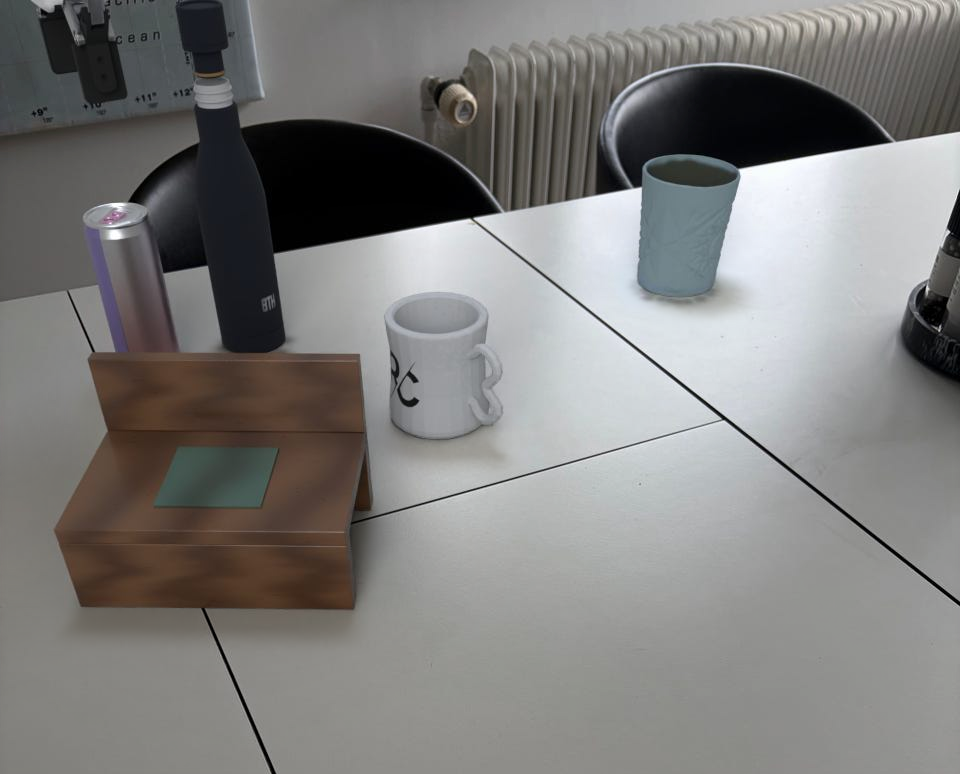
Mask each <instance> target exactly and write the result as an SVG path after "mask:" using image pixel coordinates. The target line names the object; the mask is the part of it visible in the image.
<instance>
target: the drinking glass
mask: <svg viewBox="0 0 960 774" xmlns="http://www.w3.org/2000/svg"><path fill="white" fill-rule="evenodd" d="M641 171H642V172H641V173H642V176H641V177H642V178H641V200H640V201H641V202H640V206H641V209H640V221H639V225H640V230H639V237H640V238H639V240H638V245H639V246H638V259H639V260H638V263H637V273H636V277H637V282H638V284H639V285H640V287H641V288H643V289H645V290H646V291H648V292H650V293H653V294H656V295H661V296H666V297H674V298H685V297H686V298H687V297H695V296H699V295H702V294H705V293H707V292H708V291H710V290H711V289H712V287H713V286H714V283H715V280H716V276H717V271H718V267H719V263H720V259H721V255H722V253H721V252H722V248H723V246H724V241H725V238H726V232H727V229H728V225H729V223H730V218H731V215H732V211H733V204H734V202H735V200H736V198H737V197H736V196H737V193H738V188H739V185H740V182H741V178H742V176H741V172H740V170H739V168H738V167H736V166H735V165H734V164H732V163H730V162H727V161H725V160H722V159H719V158H714V157H711V156H705V155H697V154H682V153H681V154H679V153H678V154H670V155H669V154H667V155H663V156H658V157H654V158H651V159H649V160H648V161H646V162H645V163H644V164H643V166H642V170H641Z"/></svg>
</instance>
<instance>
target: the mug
mask: <svg viewBox="0 0 960 774" xmlns="http://www.w3.org/2000/svg"><path fill="white" fill-rule="evenodd" d="M383 318H384V326H385V332H386V336H387V342H388V347H389V360H390V385H389V400H388V401H389V406H388V407H389V408H388V409H389V414H390V418H391V420H392V421H393V422H394V425H396V426H397V427H398V428H400V429H401V430H402V431H404V432H405V433H407V434H410V435H412V436H414V437H417V438H421V439H427V440H429V439H430V440H448V439H454V438H459V437H463V436H466V435H468V434H470V433H472V432H475V430H477V429H478V428H480V427H481V426H482V425H485V426H493V425H494V424H496V423H498V422H499V421H500V420H501V418H502V416H503V414H504V408H503V407H504V406H503V404H502V402H501V400H500V398H499V396H498V395H497V394H496V392H495V390H494V388H493V387H494V386H496V385H497V384H498V383H499V382H500V381H501V379H502V376H503V374H504V372H503V371H504V370H503V364H502V362H501V359H500V357H499V356H498V354H497V353H496V352H495V351H494V349H493V347H492V346H489V345H488V344H487V343H486V341H487V334H488V333H487V332H488V325H489V312H488V309H487V307H486V306H485V305H484V304H483V303H481V302H480V301H479V300H477V299H475V298H474V297H470V296H468V295H465V294H461V293H457V292H456V293H455V292H451V291H450V292H447V291H446V292H445V291H430V292H429V291H427V292H420V293H415V294H411V295H408V296H404V297H402V298H399V299H398V300H396V301H393V302H392V304H390V306H388V307H387V308H386V310H385V312H384V315H383ZM486 361H487V362H488V363H489V367H490V368H491V373H490V375H488V376H487V374H486V373H487V372H486ZM490 407H491V409H492V412H491V413H489V411H490Z"/></svg>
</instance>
